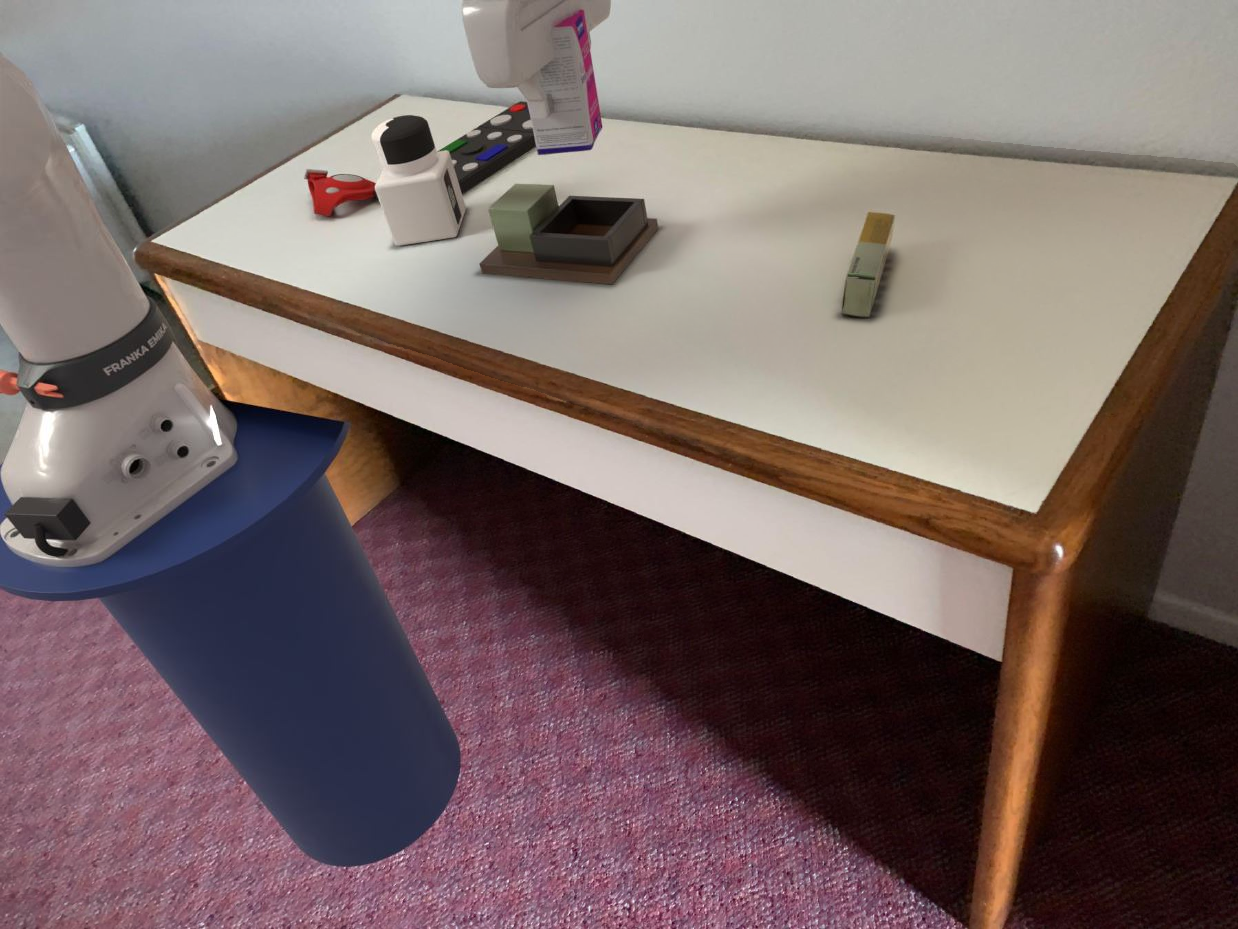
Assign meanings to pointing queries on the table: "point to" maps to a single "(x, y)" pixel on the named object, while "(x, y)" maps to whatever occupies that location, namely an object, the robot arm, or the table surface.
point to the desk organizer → (565, 235)
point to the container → (416, 182)
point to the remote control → (491, 146)
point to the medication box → (867, 265)
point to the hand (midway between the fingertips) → (562, 100)
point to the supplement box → (569, 92)
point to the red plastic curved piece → (336, 189)
